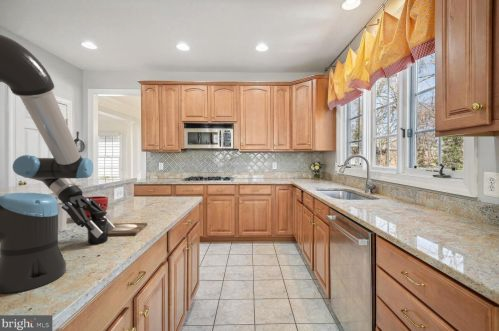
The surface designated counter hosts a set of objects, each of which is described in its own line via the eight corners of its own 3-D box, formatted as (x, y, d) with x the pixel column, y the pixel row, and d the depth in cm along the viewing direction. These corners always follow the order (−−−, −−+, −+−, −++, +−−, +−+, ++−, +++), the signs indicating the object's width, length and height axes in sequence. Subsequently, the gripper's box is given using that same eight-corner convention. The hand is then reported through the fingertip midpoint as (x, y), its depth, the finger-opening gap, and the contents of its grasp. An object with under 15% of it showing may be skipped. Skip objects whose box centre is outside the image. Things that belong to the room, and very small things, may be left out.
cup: (55, 232, 106) (55, 206, 106) (41, 231, 108) (41, 205, 107) (72, 227, 114) (72, 202, 114) (58, 226, 115) (58, 202, 115)
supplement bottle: (105, 237, 100) (105, 209, 99) (110, 241, 95) (109, 212, 95) (85, 241, 95) (85, 211, 95) (89, 246, 90) (89, 214, 90)
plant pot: (103, 221, 127) (103, 198, 126) (75, 222, 123) (75, 199, 123) (111, 215, 139) (110, 195, 139) (85, 216, 136) (85, 195, 136)
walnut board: (135, 235, 103) (135, 232, 103) (96, 236, 101) (96, 233, 101) (147, 225, 119) (147, 222, 119) (113, 226, 117) (113, 223, 117)
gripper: (79, 193, 105) (115, 231, 105) (37, 201, 86) (81, 247, 85) (91, 182, 105) (127, 219, 104) (51, 187, 85) (95, 233, 84)
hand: (106, 232), depth 95 cm, fingers closed on supplement bottle, 7 cm apart
